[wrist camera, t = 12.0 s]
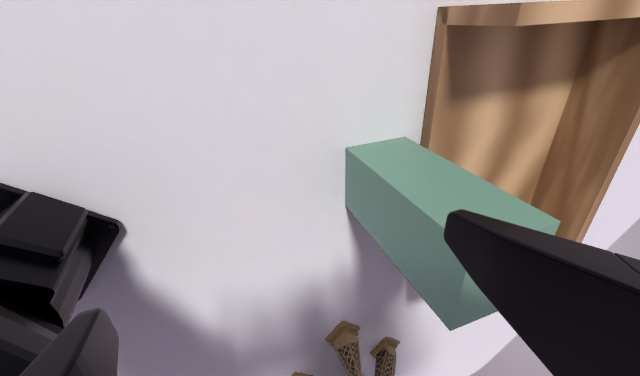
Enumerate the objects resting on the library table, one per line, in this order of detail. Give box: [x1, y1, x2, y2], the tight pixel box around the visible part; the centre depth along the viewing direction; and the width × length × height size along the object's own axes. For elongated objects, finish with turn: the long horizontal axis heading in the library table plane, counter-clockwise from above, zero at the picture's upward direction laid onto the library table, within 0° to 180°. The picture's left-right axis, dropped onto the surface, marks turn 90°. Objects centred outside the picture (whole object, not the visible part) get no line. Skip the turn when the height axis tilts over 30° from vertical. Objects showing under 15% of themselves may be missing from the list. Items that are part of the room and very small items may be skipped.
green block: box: [346, 137, 561, 331], centre depth 19 cm, size 5×5×12 cm
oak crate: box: [421, 0, 640, 243], centre depth 25 cm, size 15×22×6 cm
